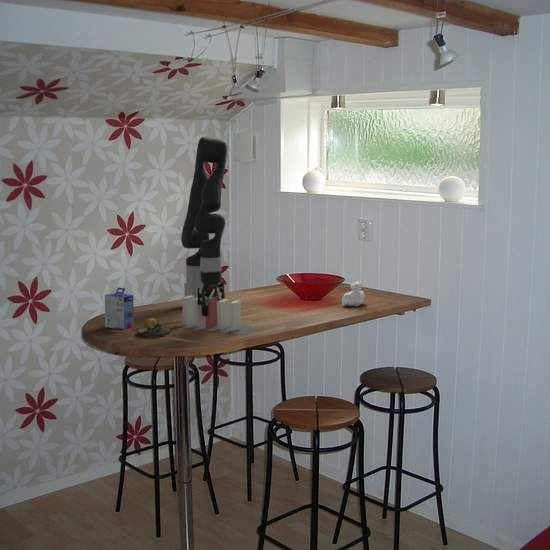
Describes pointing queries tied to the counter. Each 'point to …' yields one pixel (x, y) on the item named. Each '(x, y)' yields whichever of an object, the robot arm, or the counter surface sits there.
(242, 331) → the mat
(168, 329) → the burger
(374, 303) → the counter surface
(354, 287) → the duck figurine
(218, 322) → the domino
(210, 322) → the red domino
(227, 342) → the counter surface
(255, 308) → the counter surface
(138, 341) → the counter surface
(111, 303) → the ink cartridge box
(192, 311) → the domino
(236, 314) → the domino
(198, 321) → the domino
